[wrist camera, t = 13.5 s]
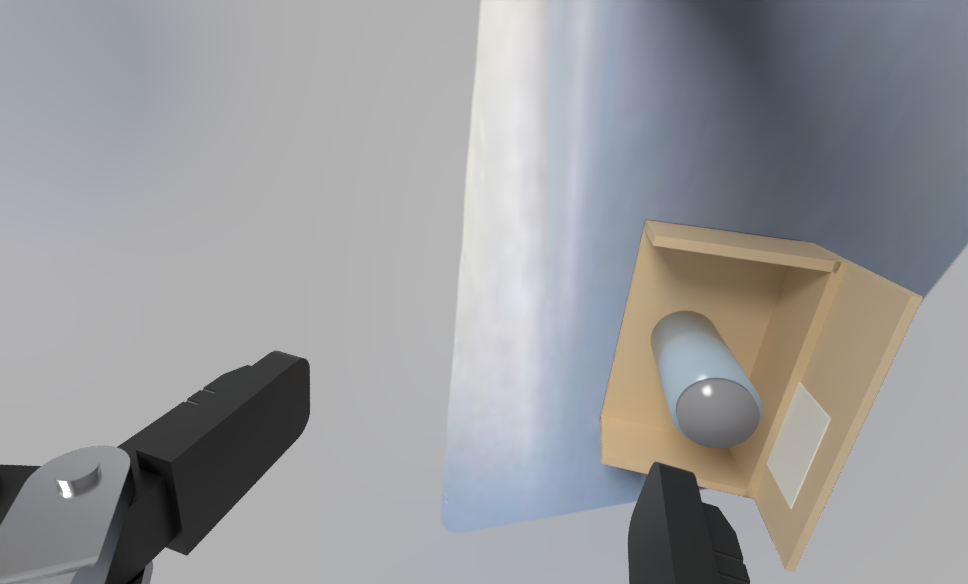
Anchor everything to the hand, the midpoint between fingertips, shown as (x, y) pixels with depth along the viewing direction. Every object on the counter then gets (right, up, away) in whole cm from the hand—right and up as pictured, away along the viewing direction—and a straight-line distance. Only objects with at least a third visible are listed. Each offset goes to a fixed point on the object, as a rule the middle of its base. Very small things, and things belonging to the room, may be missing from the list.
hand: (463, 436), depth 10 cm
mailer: (+20, -1, +33) cm, 39 cm away
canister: (+20, -1, +33) cm, 39 cm away
